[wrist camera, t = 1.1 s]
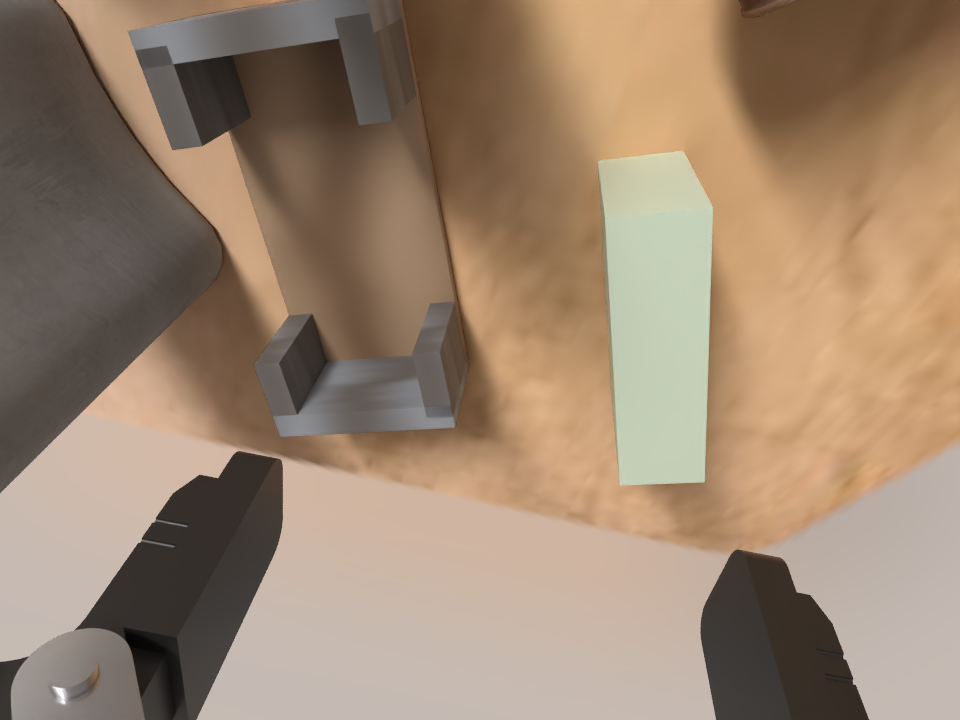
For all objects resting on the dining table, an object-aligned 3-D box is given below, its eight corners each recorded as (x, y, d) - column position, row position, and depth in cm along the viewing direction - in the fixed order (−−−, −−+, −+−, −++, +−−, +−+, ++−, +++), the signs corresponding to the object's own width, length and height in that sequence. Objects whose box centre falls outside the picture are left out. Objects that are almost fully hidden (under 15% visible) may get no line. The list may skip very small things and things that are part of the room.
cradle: (399, -19, 26) (365, -9, 22) (469, 365, 35) (455, 427, 31) (197, 15, 27) (127, 31, 23) (314, 376, 36) (280, 436, 32)
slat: (682, 149, 28) (712, 207, 22) (681, 388, 34) (704, 482, 29) (597, 159, 29) (605, 218, 23) (611, 392, 35) (619, 485, 29)
